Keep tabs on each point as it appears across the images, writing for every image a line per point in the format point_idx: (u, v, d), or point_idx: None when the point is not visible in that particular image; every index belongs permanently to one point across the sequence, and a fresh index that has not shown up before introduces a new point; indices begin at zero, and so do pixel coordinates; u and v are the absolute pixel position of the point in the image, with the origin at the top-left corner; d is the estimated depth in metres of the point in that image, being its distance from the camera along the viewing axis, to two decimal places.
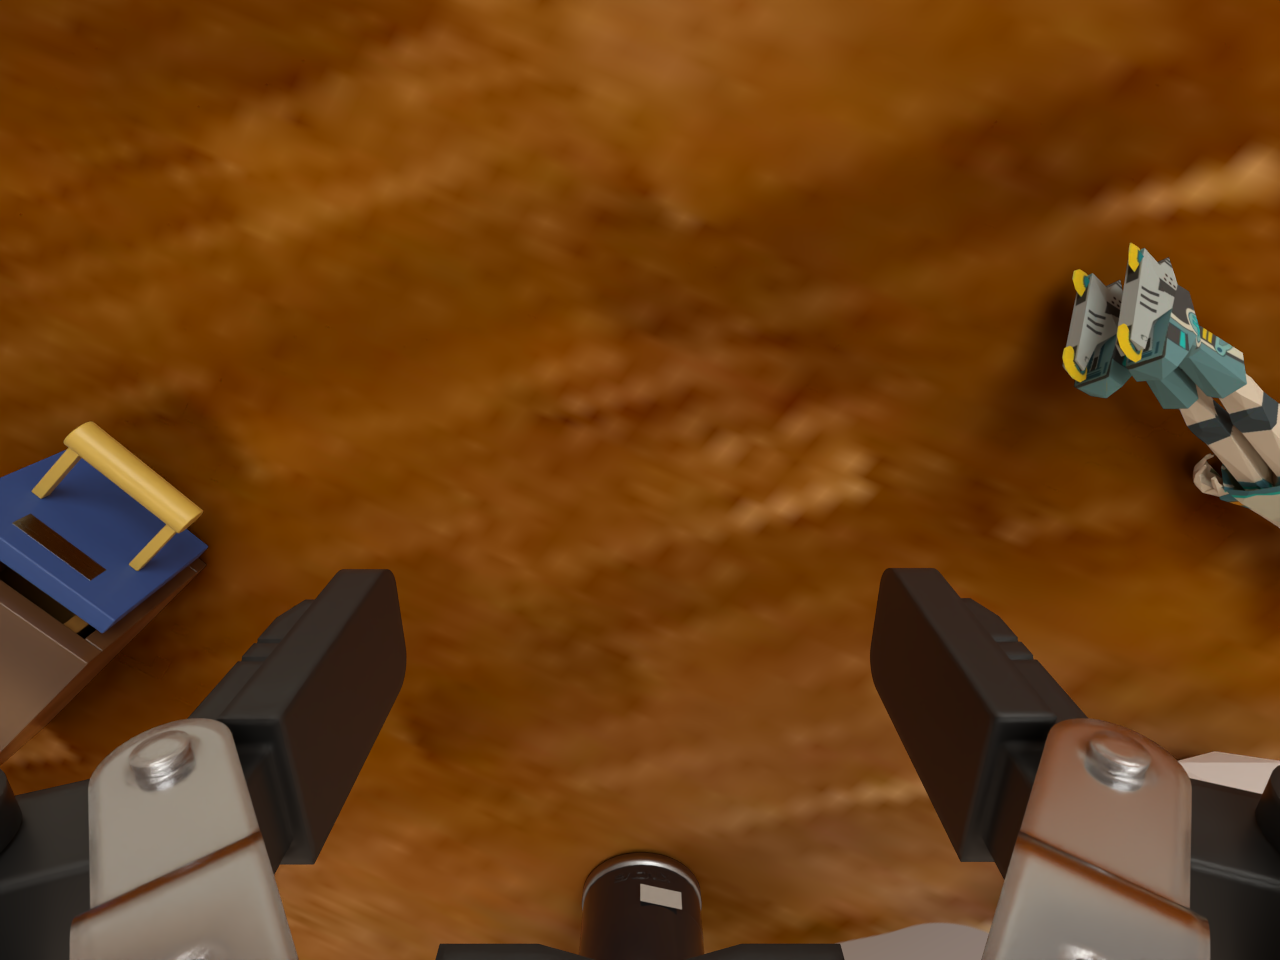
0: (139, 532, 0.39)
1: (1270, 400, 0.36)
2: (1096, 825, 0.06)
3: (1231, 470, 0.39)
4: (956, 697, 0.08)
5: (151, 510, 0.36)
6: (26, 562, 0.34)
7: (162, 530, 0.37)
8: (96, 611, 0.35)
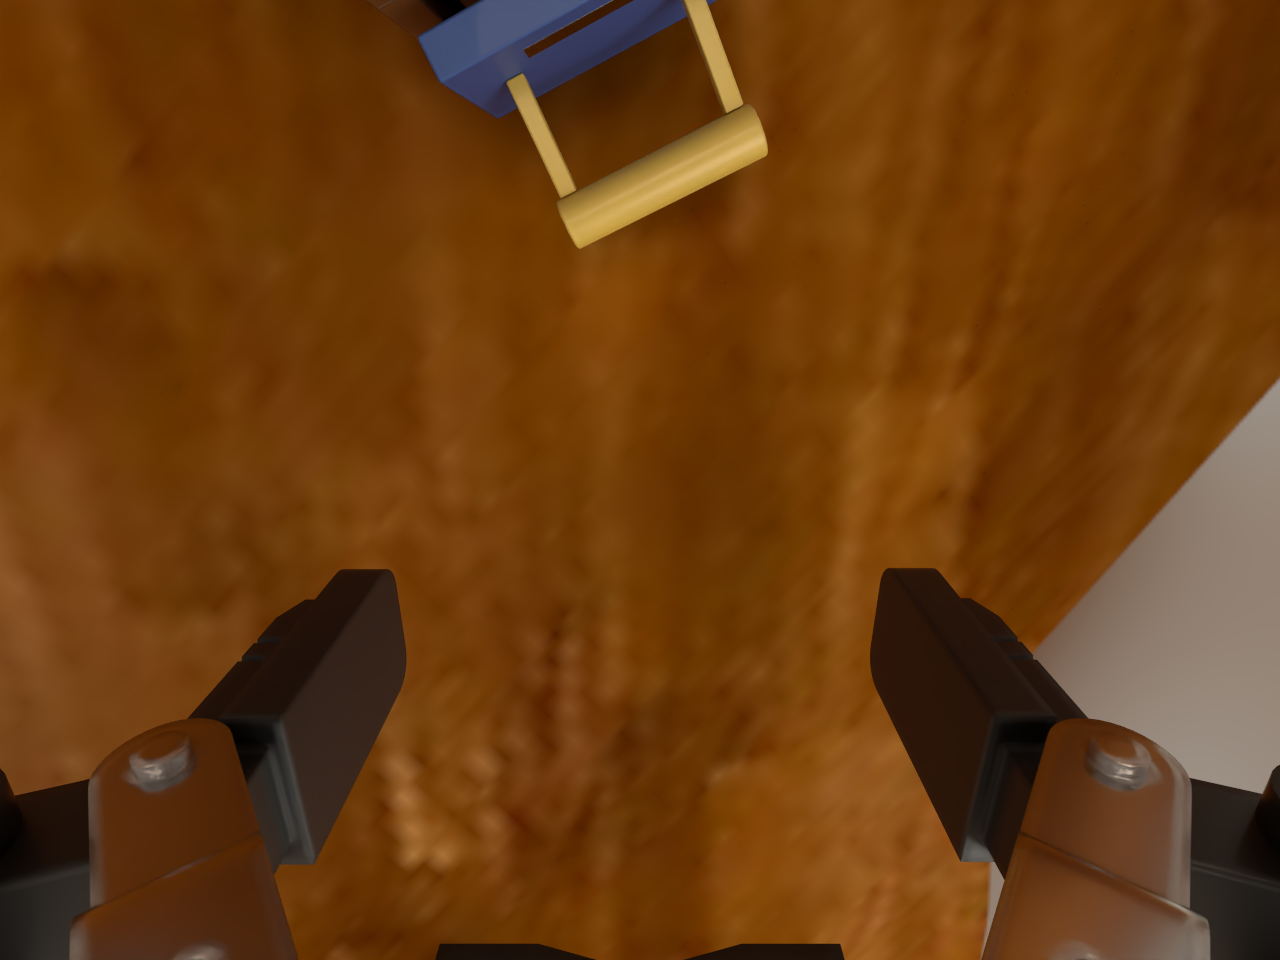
0: (561, 68, 0.23)
1: None
2: (1097, 825, 0.06)
3: None
4: (956, 697, 0.08)
5: (608, 191, 0.22)
6: None
7: (568, 176, 0.22)
8: (466, 59, 0.18)
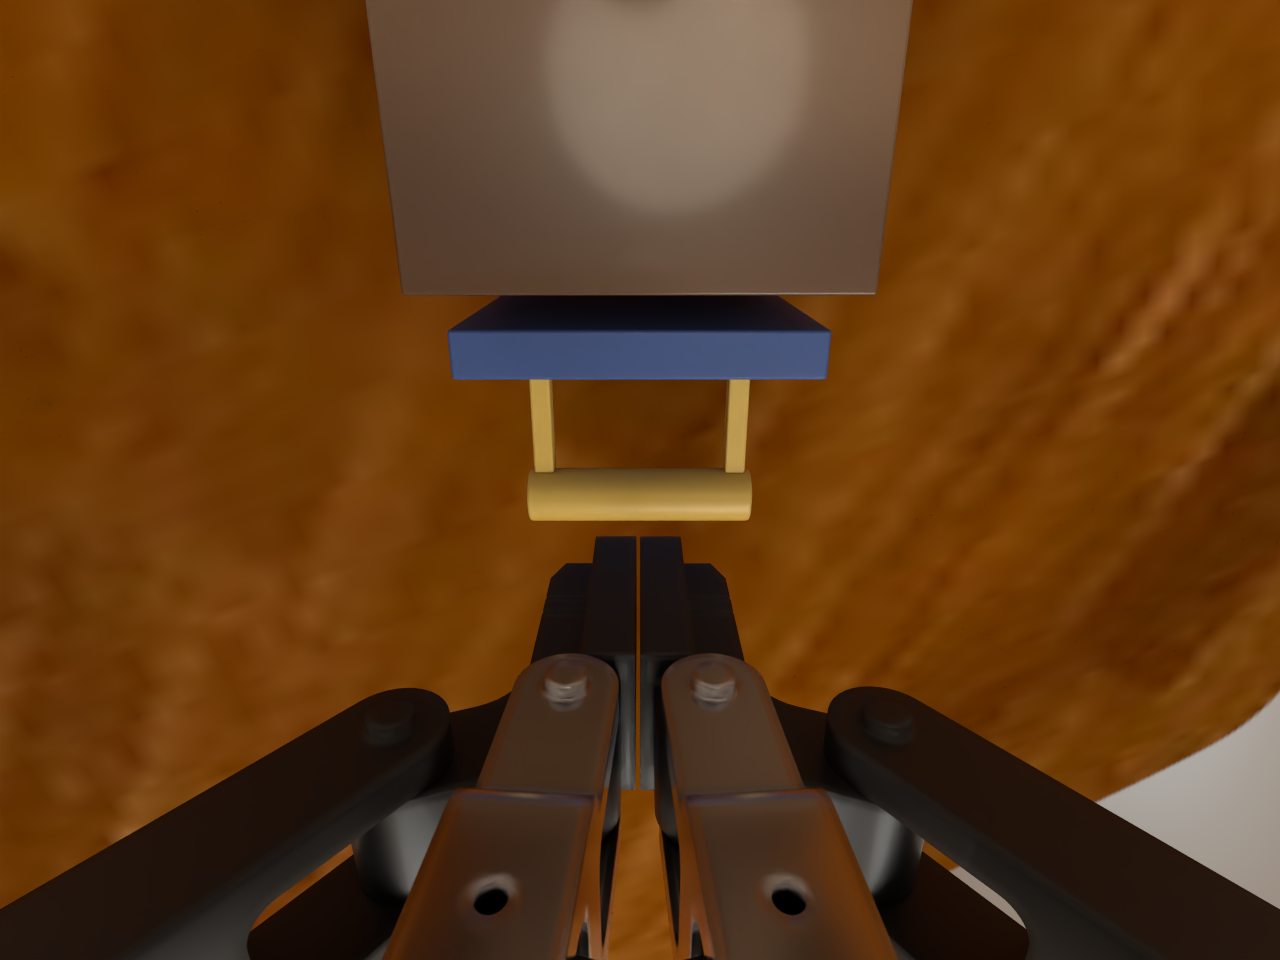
0: None
1: None
2: (724, 750, 0.07)
3: None
4: None
5: (583, 492, 0.21)
6: (648, 369, 0.16)
7: (550, 457, 0.21)
8: (489, 372, 0.16)
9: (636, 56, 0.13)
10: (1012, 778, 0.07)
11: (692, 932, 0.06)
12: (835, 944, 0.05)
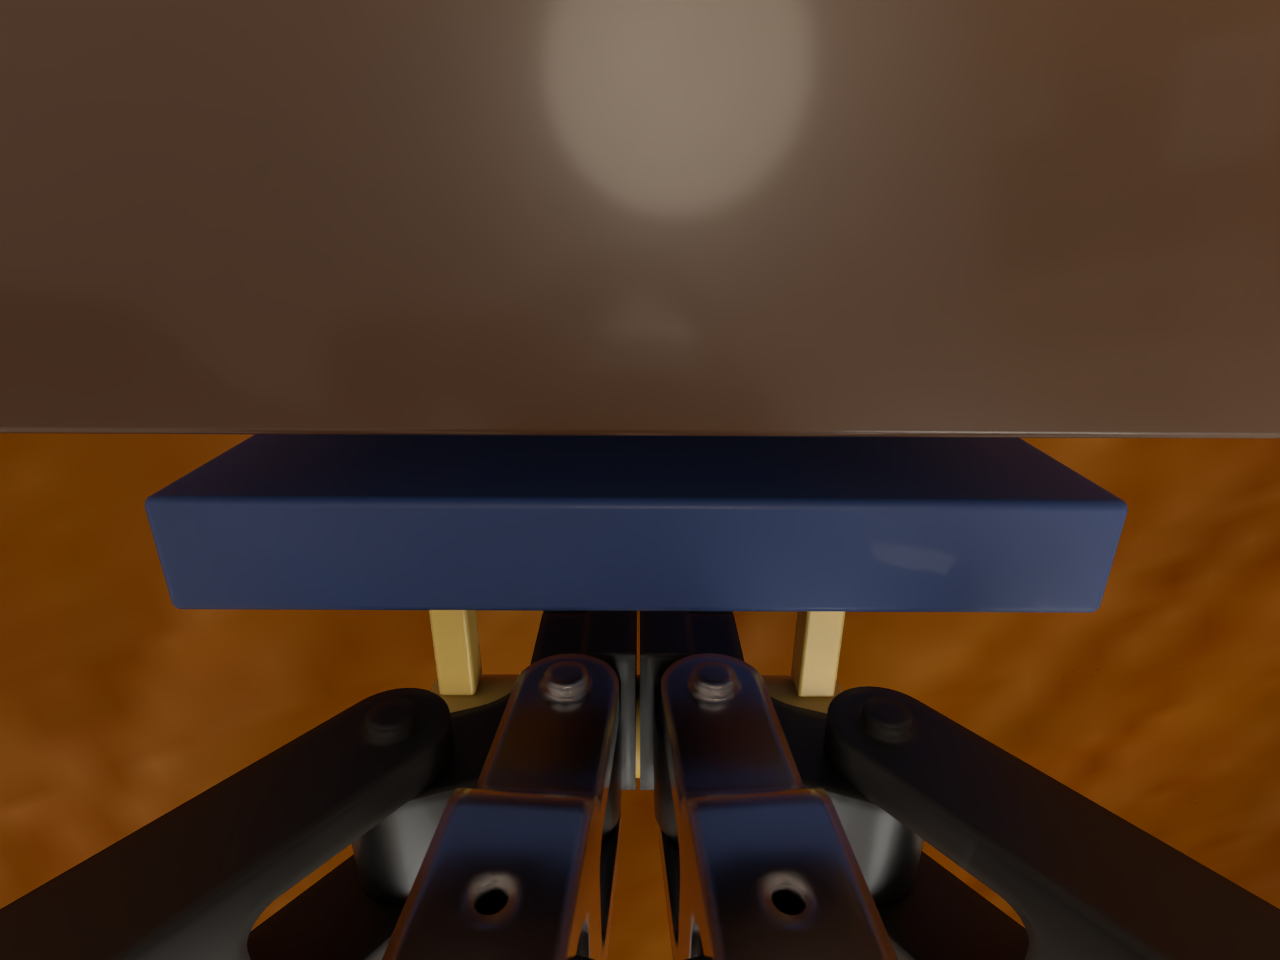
0: None
1: None
2: (724, 751, 0.07)
3: None
4: None
5: None
6: (659, 591, 0.07)
7: (467, 670, 0.11)
8: (261, 596, 0.07)
9: None
10: (1012, 778, 0.07)
11: (692, 932, 0.06)
12: (835, 945, 0.05)
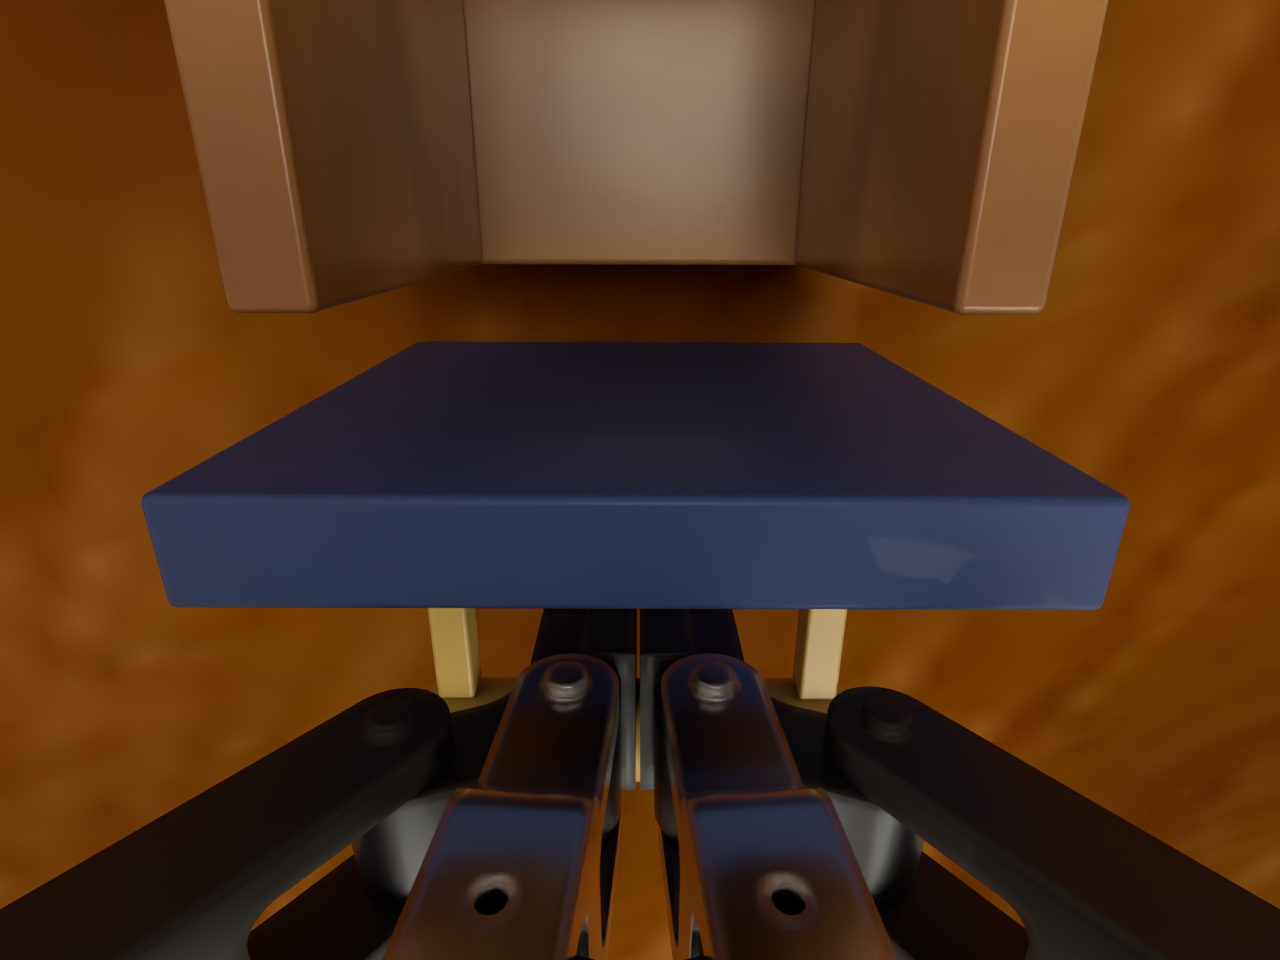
0: None
1: None
2: (724, 751, 0.07)
3: None
4: None
5: None
6: (660, 587, 0.07)
7: (467, 673, 0.11)
8: (260, 594, 0.07)
9: None
10: (1012, 778, 0.07)
11: (692, 932, 0.06)
12: (835, 944, 0.05)
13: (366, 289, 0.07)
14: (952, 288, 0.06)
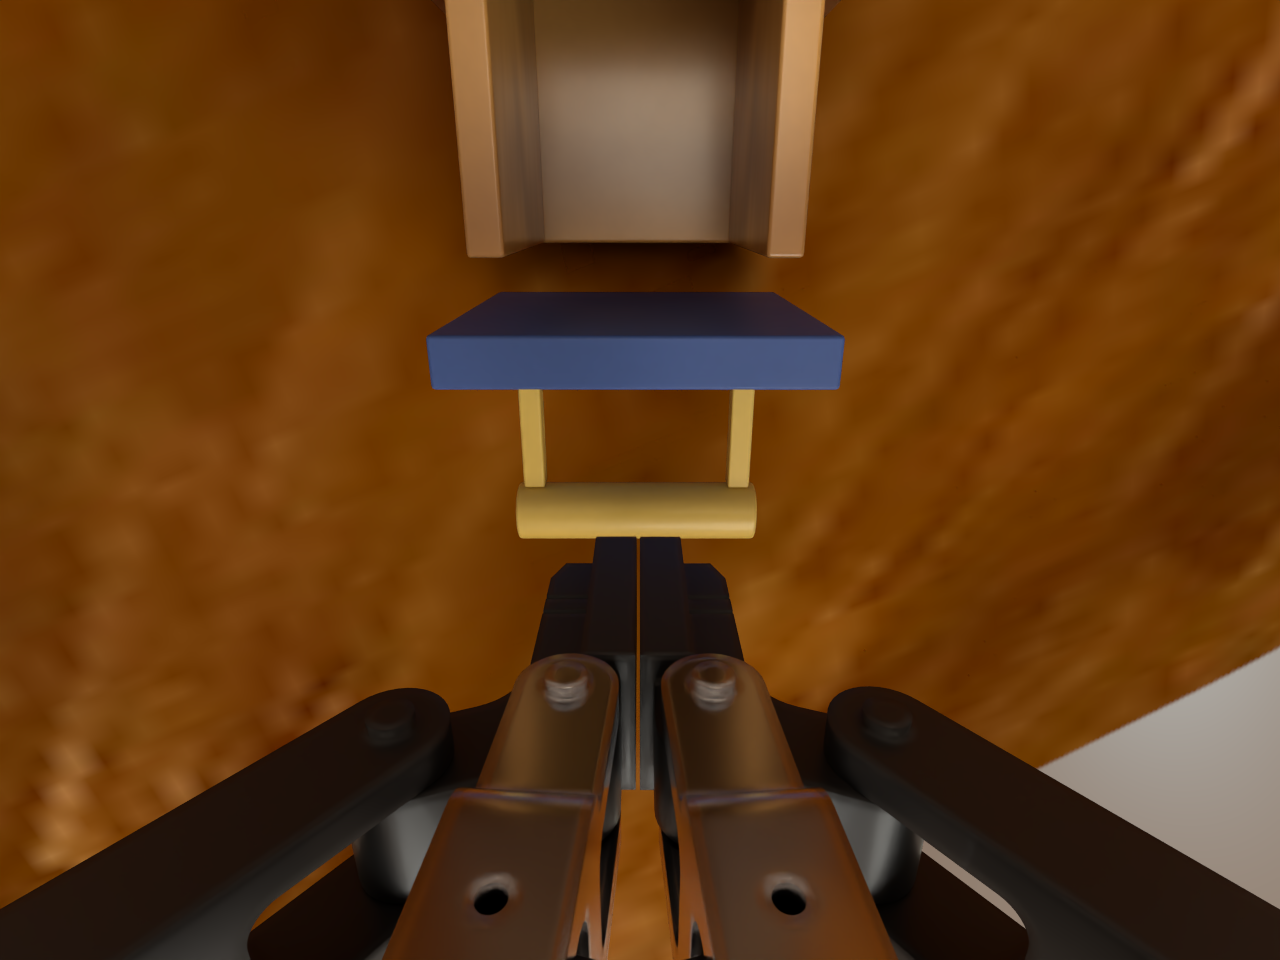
0: None
1: None
2: (724, 751, 0.07)
3: None
4: None
5: (575, 509, 0.19)
6: (645, 378, 0.15)
7: (541, 471, 0.19)
8: (472, 381, 0.15)
9: None
10: (1012, 778, 0.07)
11: (692, 932, 0.06)
12: (835, 945, 0.05)
13: (513, 250, 0.15)
14: (766, 246, 0.14)
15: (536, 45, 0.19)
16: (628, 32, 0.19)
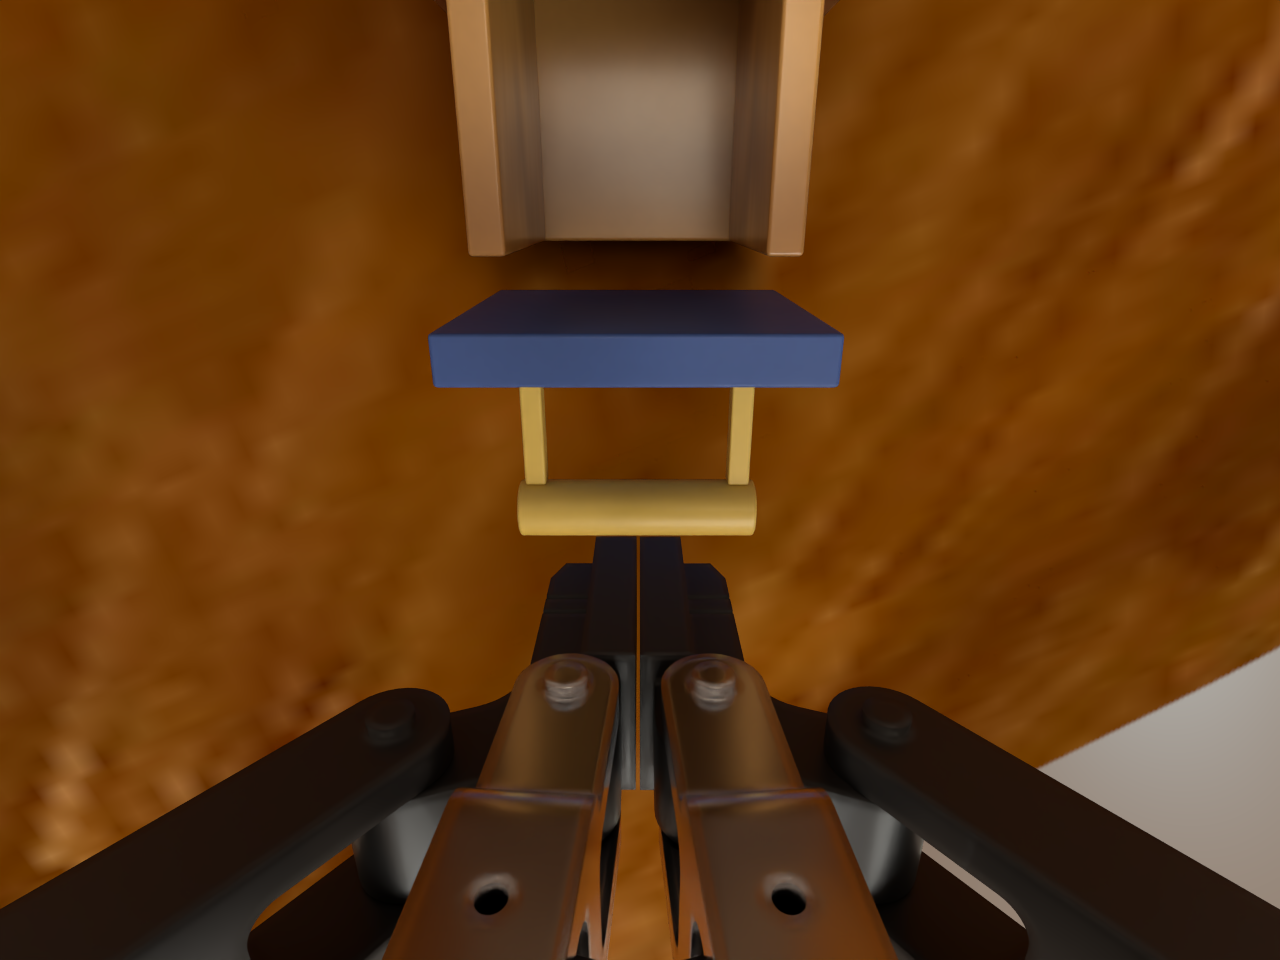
0: None
1: None
2: (724, 751, 0.07)
3: None
4: None
5: (576, 506, 0.19)
6: (646, 376, 0.15)
7: (542, 469, 0.20)
8: (474, 380, 0.15)
9: None
10: (1012, 778, 0.07)
11: (692, 933, 0.06)
12: (835, 945, 0.05)
13: (514, 248, 0.16)
14: (766, 244, 0.15)
15: (537, 44, 0.19)
16: (628, 30, 0.19)
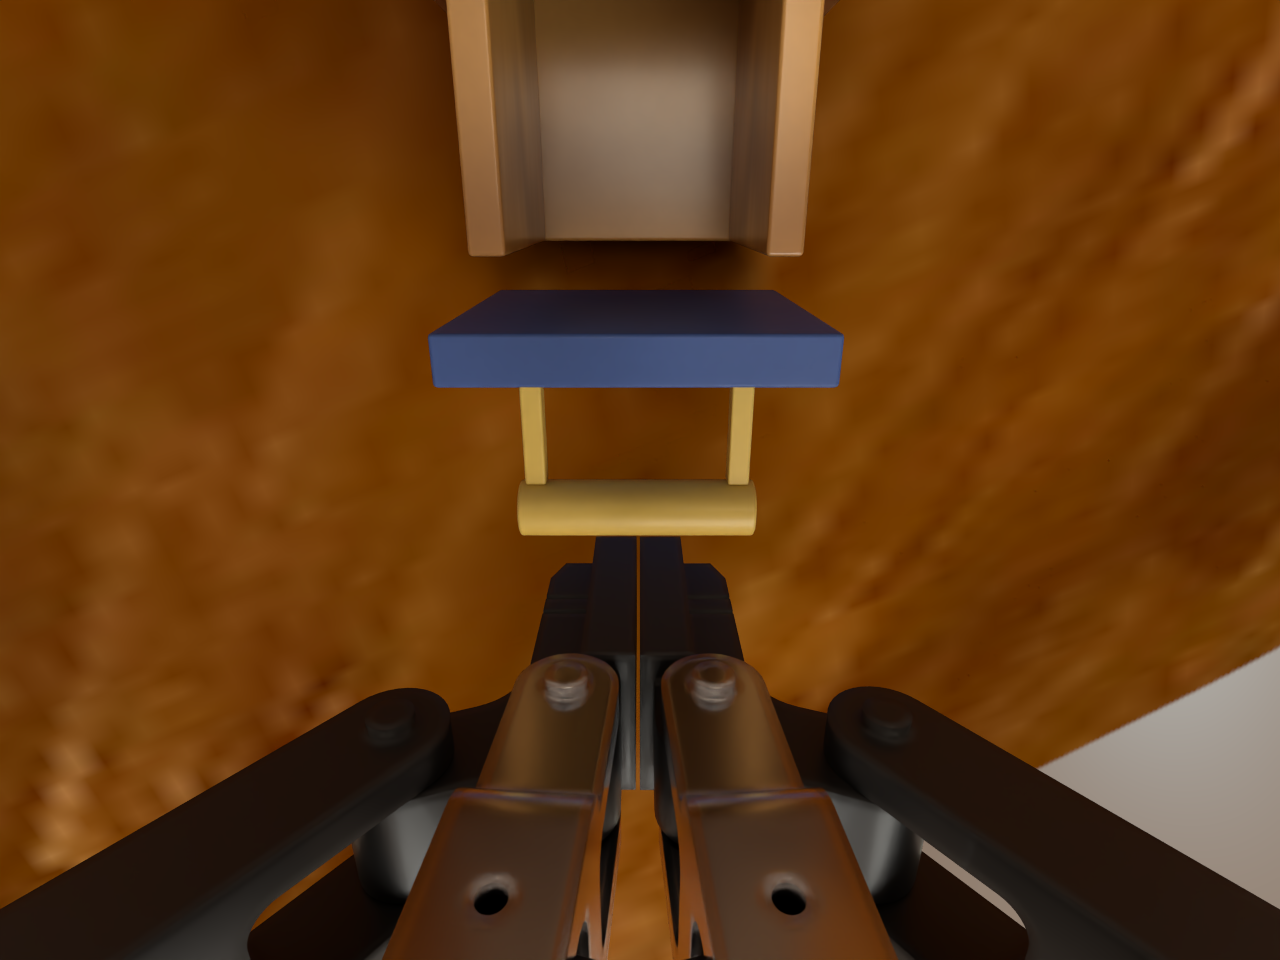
0: None
1: None
2: (724, 751, 0.07)
3: None
4: None
5: (576, 506, 0.19)
6: (646, 376, 0.15)
7: (542, 469, 0.20)
8: (474, 380, 0.15)
9: None
10: (1012, 778, 0.07)
11: (692, 933, 0.06)
12: (835, 945, 0.05)
13: (514, 248, 0.16)
14: (766, 244, 0.15)
15: (537, 43, 0.19)
16: (628, 30, 0.19)
